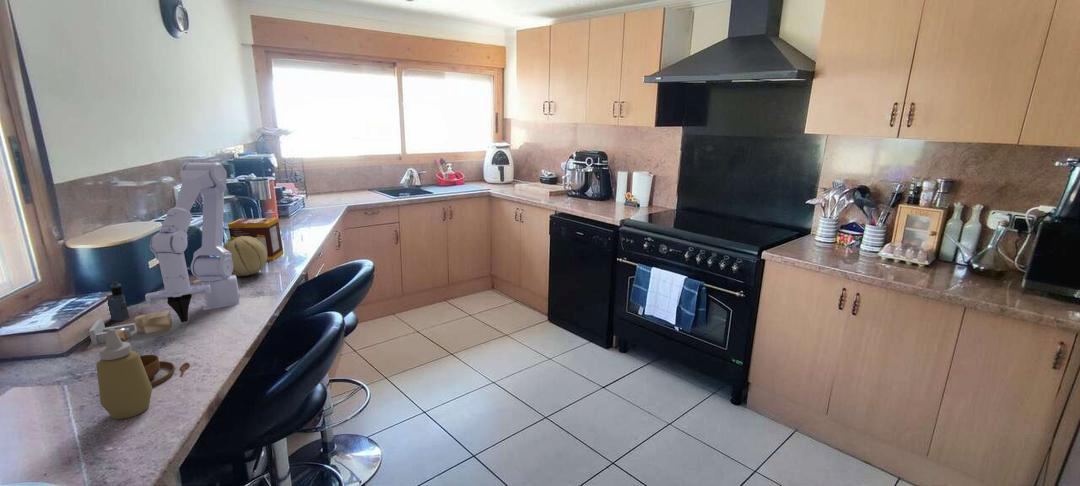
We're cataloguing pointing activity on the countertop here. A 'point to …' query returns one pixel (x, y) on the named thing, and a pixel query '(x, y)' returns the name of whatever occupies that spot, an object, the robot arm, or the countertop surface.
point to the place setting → (158, 367)
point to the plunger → (121, 333)
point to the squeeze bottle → (122, 379)
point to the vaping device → (117, 303)
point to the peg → (153, 322)
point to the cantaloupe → (246, 255)
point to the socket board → (131, 332)
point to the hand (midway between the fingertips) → (184, 320)
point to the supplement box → (260, 233)
